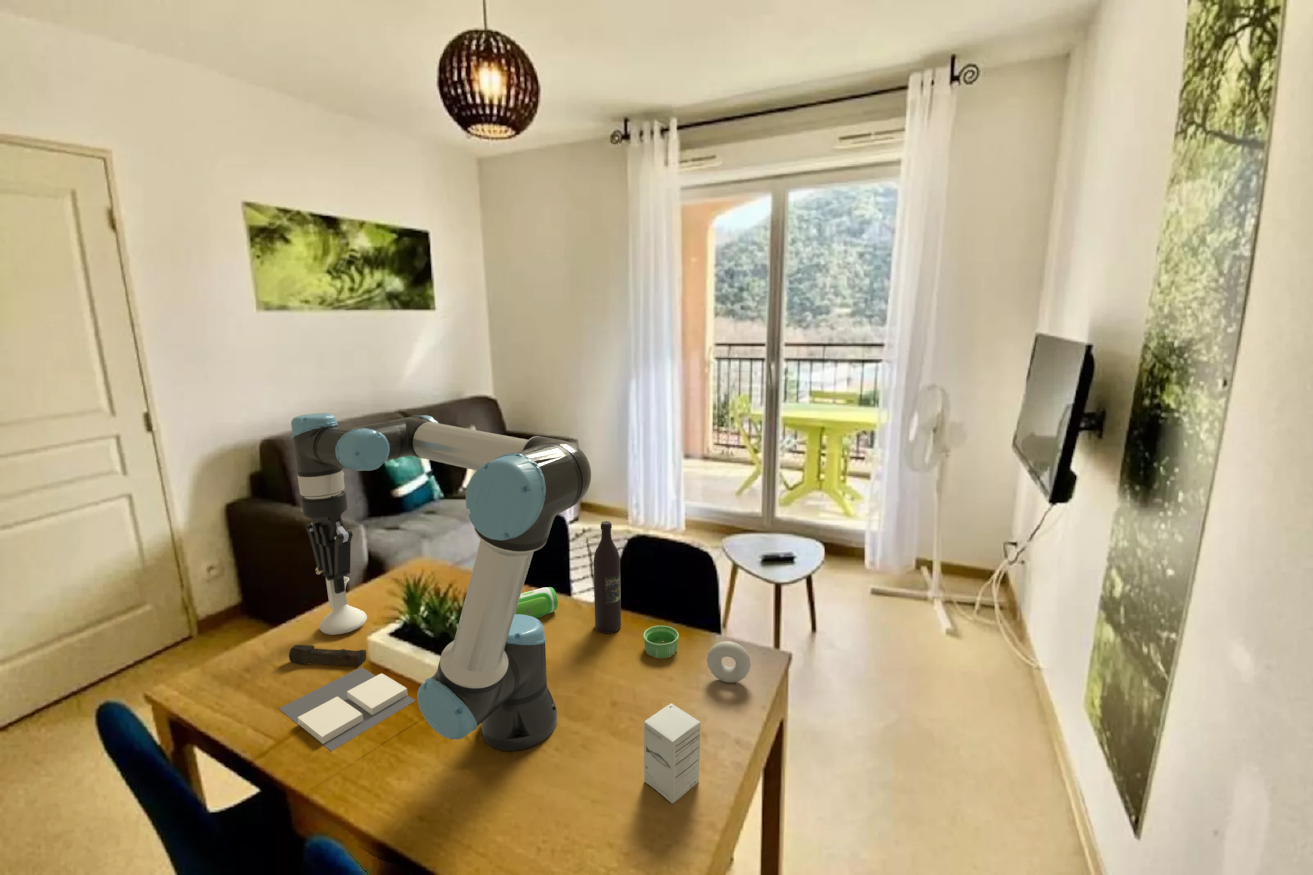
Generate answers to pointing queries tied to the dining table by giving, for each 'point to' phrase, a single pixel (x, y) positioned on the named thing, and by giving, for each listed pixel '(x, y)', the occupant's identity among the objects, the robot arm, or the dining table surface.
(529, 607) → the speaker
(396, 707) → the mat
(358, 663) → the hand tool
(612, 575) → the wine bottle
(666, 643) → the ramekin
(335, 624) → the flower in vase
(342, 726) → the tile near
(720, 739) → the dining table surface
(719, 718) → the dining table surface
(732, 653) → the donut
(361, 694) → the tile far
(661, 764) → the supplement box
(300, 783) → the dining table surface
